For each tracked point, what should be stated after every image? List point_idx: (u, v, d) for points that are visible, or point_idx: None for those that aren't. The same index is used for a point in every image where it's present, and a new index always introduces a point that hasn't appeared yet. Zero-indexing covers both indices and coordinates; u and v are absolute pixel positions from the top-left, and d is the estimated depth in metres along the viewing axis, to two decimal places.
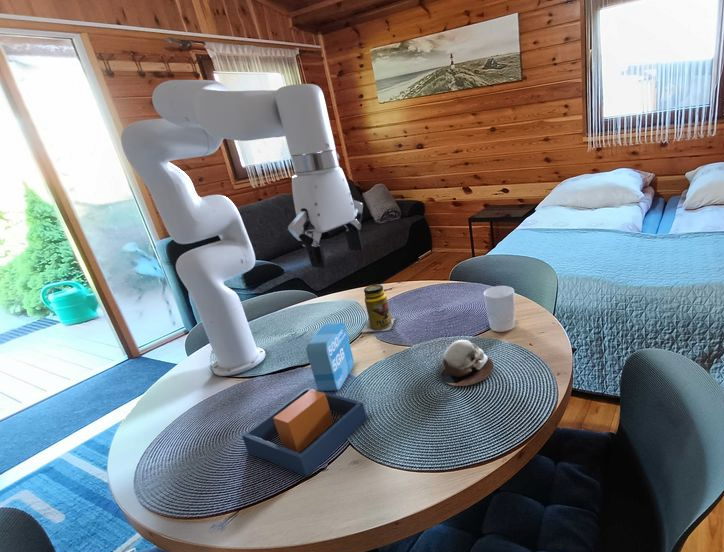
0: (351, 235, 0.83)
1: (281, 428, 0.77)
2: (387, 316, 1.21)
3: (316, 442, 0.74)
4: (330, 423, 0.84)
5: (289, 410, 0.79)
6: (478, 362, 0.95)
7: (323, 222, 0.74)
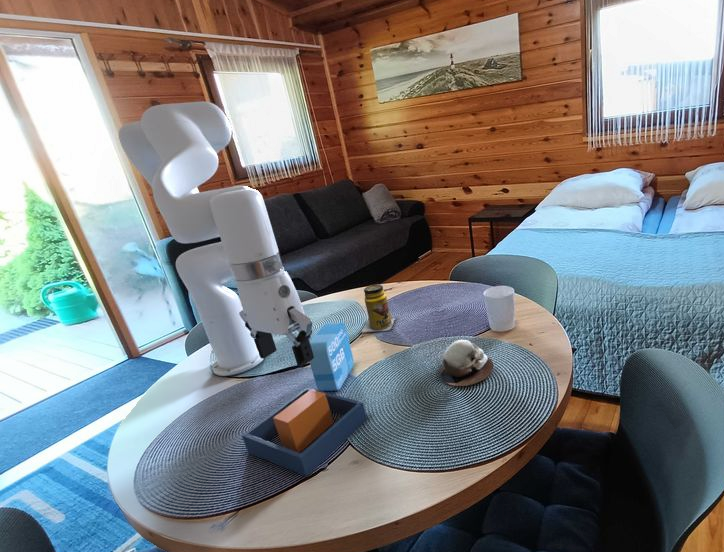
0: None
1: (281, 428, 0.77)
2: (387, 316, 1.21)
3: (316, 442, 0.74)
4: (330, 423, 0.84)
5: (289, 410, 0.79)
6: (478, 362, 0.95)
7: (250, 322, 0.74)
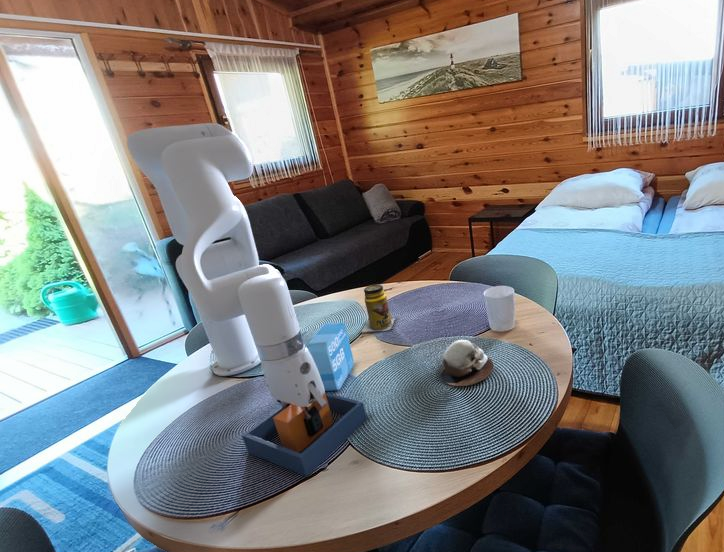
0: None
1: (281, 428, 0.77)
2: (387, 316, 1.21)
3: (316, 442, 0.74)
4: (330, 423, 0.84)
5: (289, 410, 0.79)
6: (478, 362, 0.95)
7: (272, 392, 0.79)
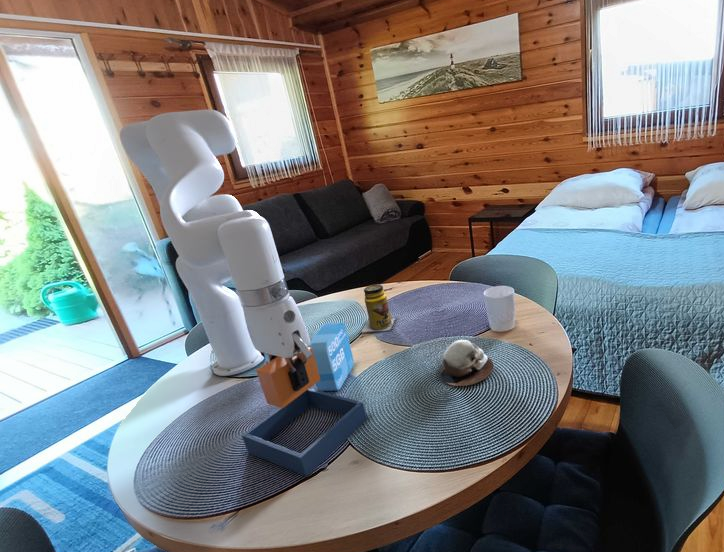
0: None
1: (264, 381, 0.74)
2: (387, 316, 1.21)
3: (316, 442, 0.74)
4: (317, 380, 0.81)
5: (273, 363, 0.75)
6: (478, 362, 0.95)
7: (255, 344, 0.75)
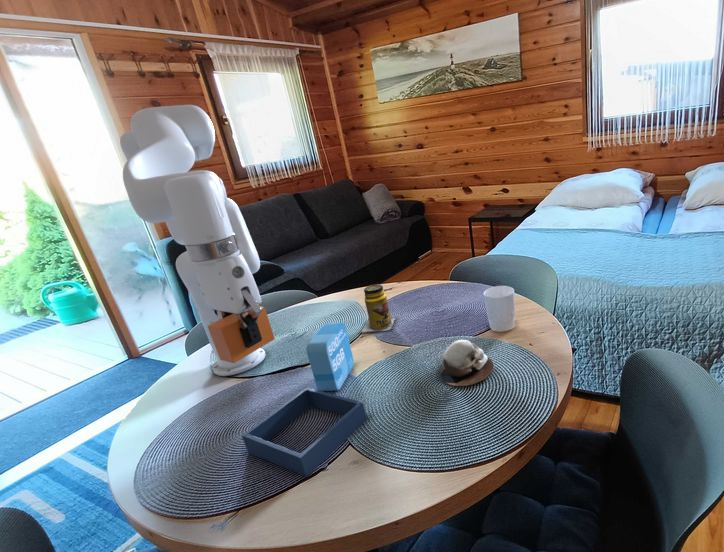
0: None
1: (216, 336, 0.76)
2: (387, 316, 1.21)
3: (316, 442, 0.74)
4: (271, 339, 0.83)
5: (225, 320, 0.78)
6: (478, 362, 0.95)
7: (208, 302, 0.77)
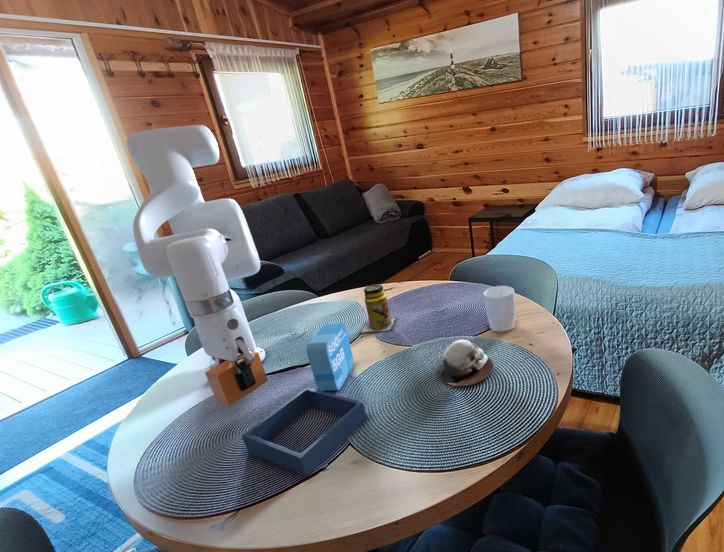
0: None
1: (213, 382, 0.83)
2: (387, 316, 1.21)
3: (316, 442, 0.74)
4: (264, 381, 0.90)
5: (221, 366, 0.84)
6: (478, 362, 0.95)
7: (206, 349, 0.84)
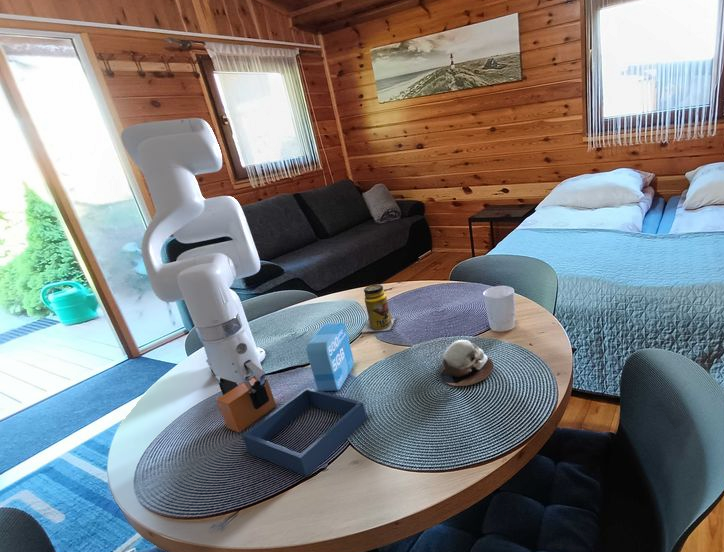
0: None
1: (223, 409, 0.85)
2: (387, 316, 1.21)
3: (316, 442, 0.74)
4: (272, 406, 0.92)
5: (231, 393, 0.87)
6: (478, 362, 0.95)
7: (214, 371, 0.87)
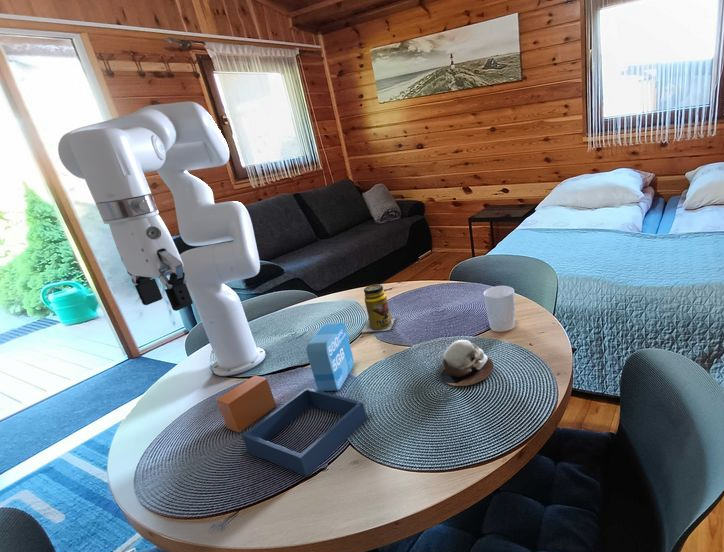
0: None
1: (223, 409, 0.85)
2: (387, 316, 1.21)
3: (316, 442, 0.74)
4: (273, 406, 0.92)
5: (231, 393, 0.87)
6: (478, 362, 0.95)
7: (127, 267, 0.74)
